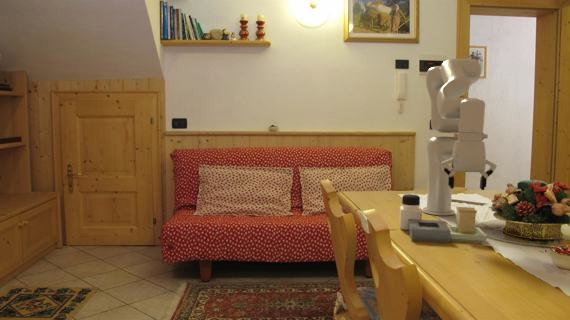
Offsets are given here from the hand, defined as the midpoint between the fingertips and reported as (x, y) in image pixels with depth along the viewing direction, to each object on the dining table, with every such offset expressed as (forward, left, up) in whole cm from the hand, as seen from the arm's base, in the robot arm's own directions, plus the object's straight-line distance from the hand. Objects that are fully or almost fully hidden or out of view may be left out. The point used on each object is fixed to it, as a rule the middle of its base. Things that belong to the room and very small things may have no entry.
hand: (466, 188), depth 157 cm
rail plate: (+2, -12, -16) cm, 20 cm away
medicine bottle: (-9, -17, -17) cm, 25 cm away
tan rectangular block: (+1, 0, -16) cm, 16 cm away
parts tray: (+1, 0, -16) cm, 16 cm away
